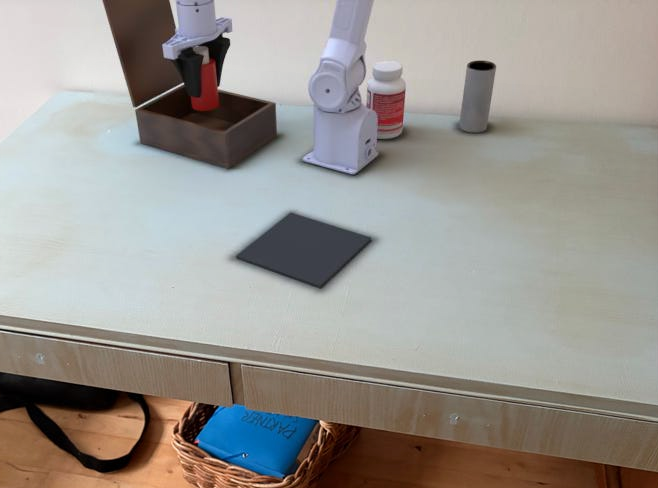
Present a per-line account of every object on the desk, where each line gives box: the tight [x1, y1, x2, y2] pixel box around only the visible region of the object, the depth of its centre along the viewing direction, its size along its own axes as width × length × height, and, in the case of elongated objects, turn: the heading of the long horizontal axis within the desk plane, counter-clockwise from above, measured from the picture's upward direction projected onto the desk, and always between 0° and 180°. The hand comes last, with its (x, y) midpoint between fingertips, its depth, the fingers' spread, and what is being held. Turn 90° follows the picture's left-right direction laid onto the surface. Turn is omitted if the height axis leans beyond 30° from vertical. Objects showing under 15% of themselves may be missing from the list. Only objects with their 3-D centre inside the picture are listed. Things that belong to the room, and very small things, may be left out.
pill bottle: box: [365, 60, 407, 140], centre depth 122 cm, size 6×6×11 cm
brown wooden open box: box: [134, 83, 278, 170], centre depth 124 cm, size 19×14×6 cm
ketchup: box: [191, 46, 219, 111], centre depth 119 cm, size 4×4×9 cm
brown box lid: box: [101, 0, 184, 109], centre depth 121 cm, size 19×14×4 cm
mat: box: [235, 212, 372, 289], centre depth 99 cm, size 13×13×1 cm
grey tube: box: [459, 59, 497, 134], centre depth 122 cm, size 4×4×10 cm
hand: (204, 90), depth 120 cm, fingers closed on ketchup, 4 cm apart
